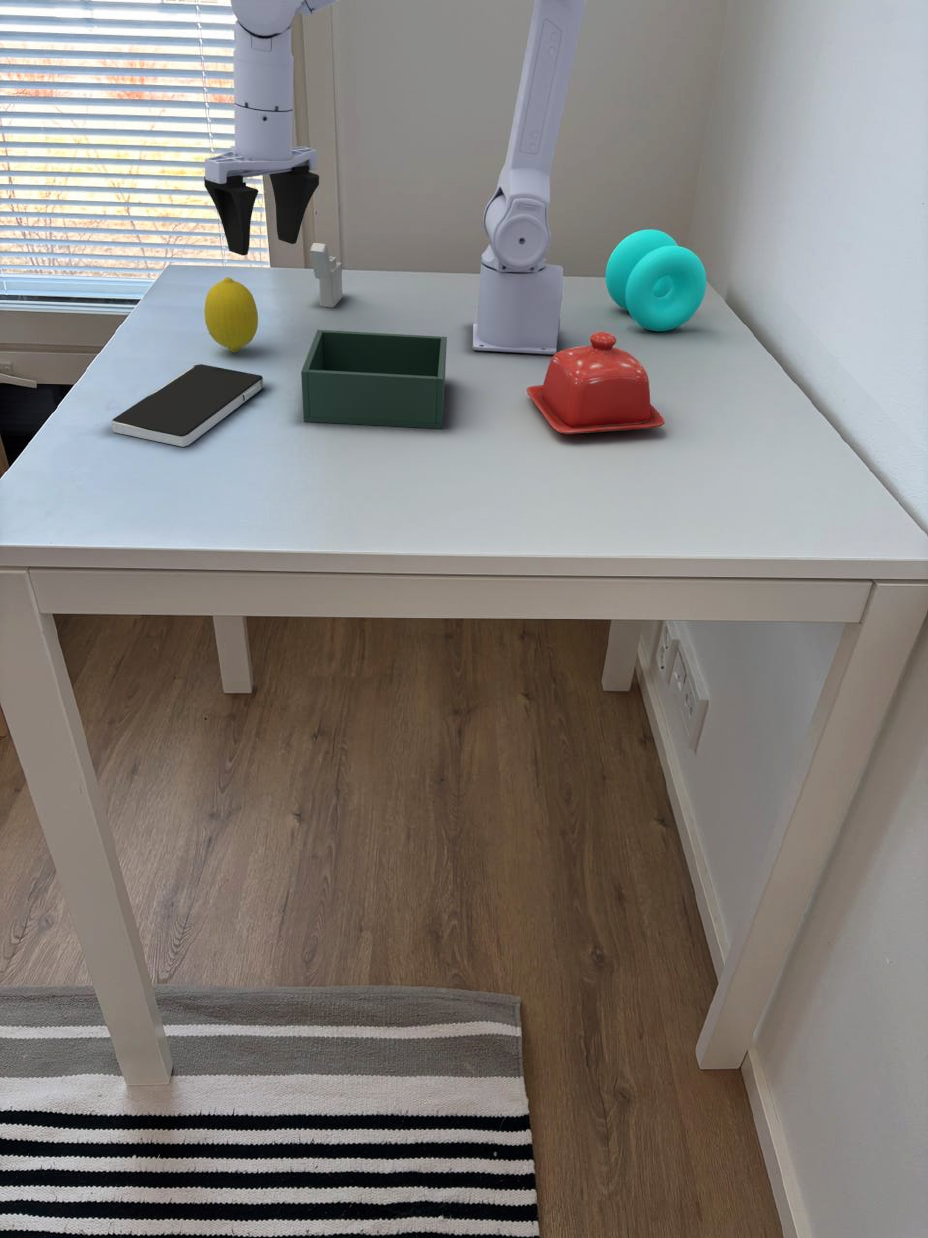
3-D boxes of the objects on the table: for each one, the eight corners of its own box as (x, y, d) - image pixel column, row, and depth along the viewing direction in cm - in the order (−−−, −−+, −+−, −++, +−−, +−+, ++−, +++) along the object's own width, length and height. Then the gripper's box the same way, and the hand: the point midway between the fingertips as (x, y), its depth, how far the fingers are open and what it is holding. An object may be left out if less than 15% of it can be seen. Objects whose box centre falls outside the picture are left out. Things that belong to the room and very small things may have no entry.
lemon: (249, 364, 102) (242, 288, 97) (200, 357, 103) (191, 282, 98) (268, 346, 106) (263, 273, 102) (220, 340, 107) (213, 267, 102)
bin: (444, 383, 101) (446, 336, 98) (441, 428, 92) (443, 379, 89) (319, 376, 100) (317, 329, 97) (303, 421, 91) (301, 371, 88)
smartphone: (107, 420, 87) (196, 362, 98) (109, 433, 88) (197, 373, 99) (185, 437, 85) (266, 375, 96) (187, 449, 86) (267, 387, 97)
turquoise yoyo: (624, 335, 115) (638, 250, 109) (597, 308, 123) (608, 226, 117) (701, 333, 117) (718, 249, 111) (669, 306, 125) (683, 226, 119)
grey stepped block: (329, 295, 121) (327, 229, 117) (342, 297, 121) (341, 231, 116) (312, 313, 116) (309, 245, 111) (325, 315, 115) (323, 246, 111)
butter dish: (520, 396, 99) (528, 314, 94) (624, 391, 101) (637, 311, 96) (555, 446, 90) (565, 358, 85) (668, 438, 92) (685, 353, 87)
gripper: (282, 94, 102) (280, 227, 110) (179, 101, 91) (186, 247, 99) (334, 107, 99) (328, 243, 107) (234, 116, 89) (236, 265, 97)
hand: (263, 246), depth 103 cm, fingers open, 7 cm apart
